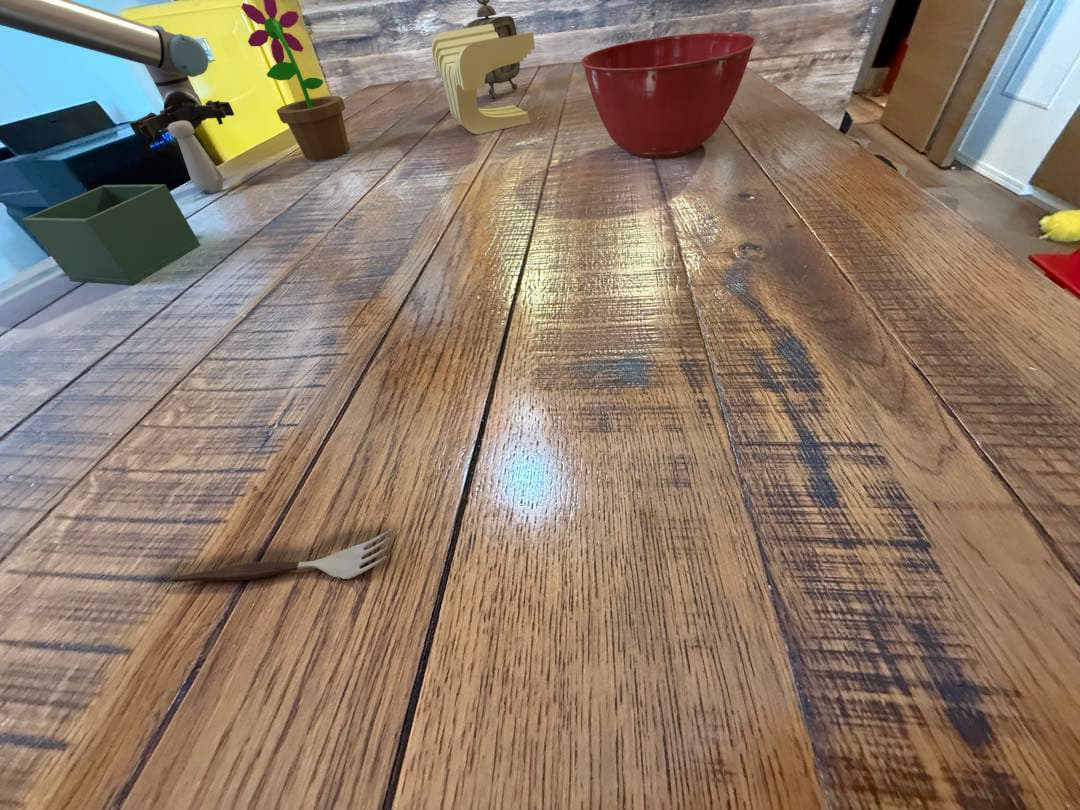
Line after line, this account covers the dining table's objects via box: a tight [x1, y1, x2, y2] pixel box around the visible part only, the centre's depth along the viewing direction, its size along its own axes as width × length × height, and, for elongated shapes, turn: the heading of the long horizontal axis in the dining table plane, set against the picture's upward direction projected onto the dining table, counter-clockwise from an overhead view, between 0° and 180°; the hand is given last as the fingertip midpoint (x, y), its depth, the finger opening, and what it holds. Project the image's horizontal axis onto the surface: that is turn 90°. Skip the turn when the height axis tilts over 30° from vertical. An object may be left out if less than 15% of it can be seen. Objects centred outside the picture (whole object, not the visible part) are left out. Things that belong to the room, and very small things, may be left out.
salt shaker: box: [167, 121, 224, 195], centre depth 103 cm, size 6×6×13 cm
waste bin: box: [21, 183, 201, 286], centre depth 79 cm, size 13×13×10 cm
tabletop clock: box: [463, 0, 521, 101], centre depth 138 cm, size 14×9×25 cm, turn 149°
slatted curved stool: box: [430, 24, 536, 135], centre depth 117 cm, size 30×16×18 cm, turn 20°
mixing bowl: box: [580, 32, 757, 159], centre depth 90 cm, size 28×28×16 cm
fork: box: [171, 528, 393, 582], centre depth 35 cm, size 3×16×2 cm, turn 93°
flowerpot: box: [241, 0, 350, 162], centre depth 109 cm, size 14×14×30 cm
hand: (183, 125), depth 107 cm, fingers open, 13 cm apart
